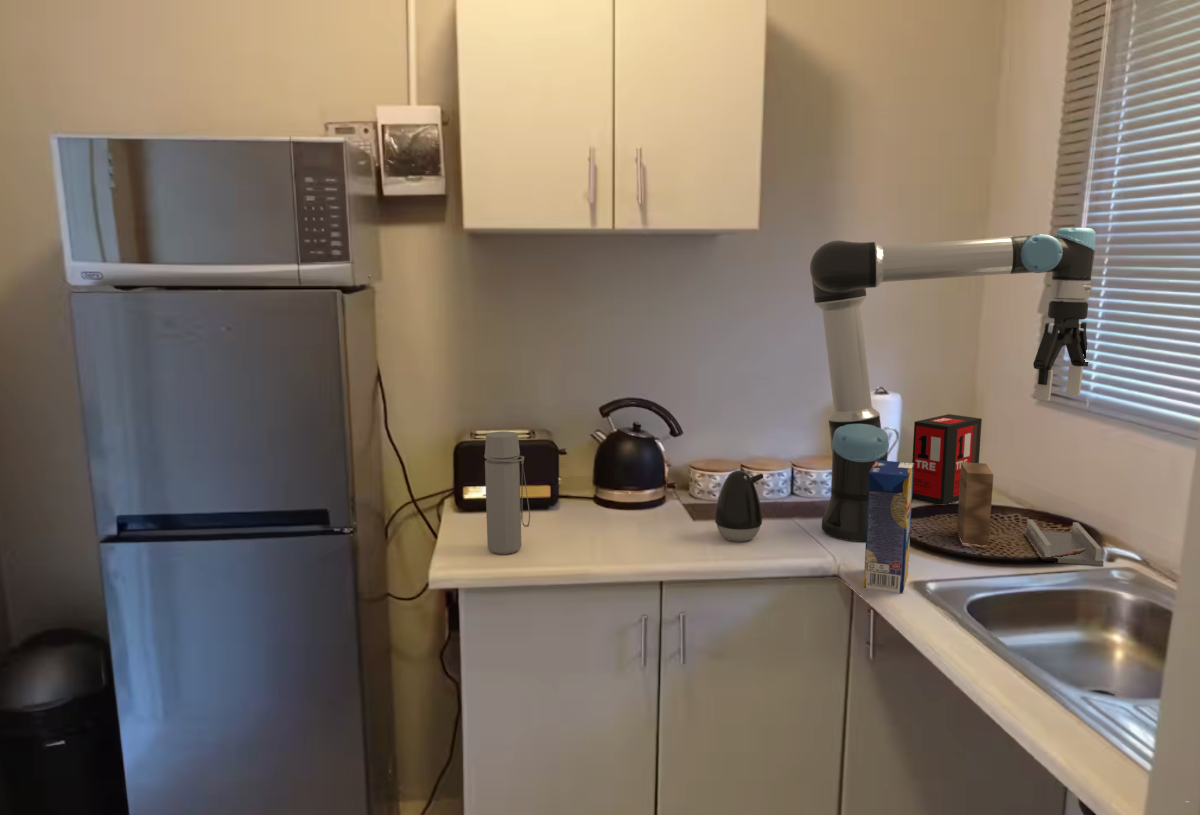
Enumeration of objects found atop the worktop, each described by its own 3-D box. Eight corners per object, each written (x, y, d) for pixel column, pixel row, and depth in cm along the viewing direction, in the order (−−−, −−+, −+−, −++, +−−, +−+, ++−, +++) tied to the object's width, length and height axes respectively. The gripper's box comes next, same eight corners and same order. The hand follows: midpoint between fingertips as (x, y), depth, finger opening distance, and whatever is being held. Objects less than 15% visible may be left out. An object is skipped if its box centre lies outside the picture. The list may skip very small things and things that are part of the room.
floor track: (1041, 561, 172) (1043, 544, 171) (1023, 534, 189) (1025, 519, 188) (1103, 566, 169) (1104, 549, 168) (1079, 538, 186) (1080, 522, 185)
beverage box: (907, 573, 165) (913, 462, 162) (902, 593, 155) (908, 476, 152) (871, 569, 168) (876, 459, 164) (863, 588, 158) (868, 472, 155)
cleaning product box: (944, 487, 228) (948, 414, 225) (976, 494, 222) (981, 418, 218) (910, 498, 218) (914, 421, 215) (943, 506, 211) (947, 426, 208)
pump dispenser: (767, 544, 183) (769, 475, 181) (719, 546, 183) (720, 476, 180) (756, 530, 193) (757, 464, 191) (710, 531, 193) (711, 465, 190)
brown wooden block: (962, 546, 181) (966, 472, 178) (956, 532, 191) (960, 462, 188) (988, 548, 180) (994, 474, 177) (981, 534, 189) (986, 463, 187)
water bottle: (488, 557, 177) (484, 438, 172) (486, 545, 184) (482, 431, 180) (532, 554, 178) (530, 436, 174) (528, 542, 186) (526, 429, 182)
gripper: (1058, 302, 175) (1047, 404, 179) (1113, 300, 190) (1101, 395, 193) (1022, 300, 181) (1012, 399, 185) (1078, 299, 196) (1067, 390, 199)
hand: (1058, 397), depth 189 cm, fingers open, 13 cm apart
